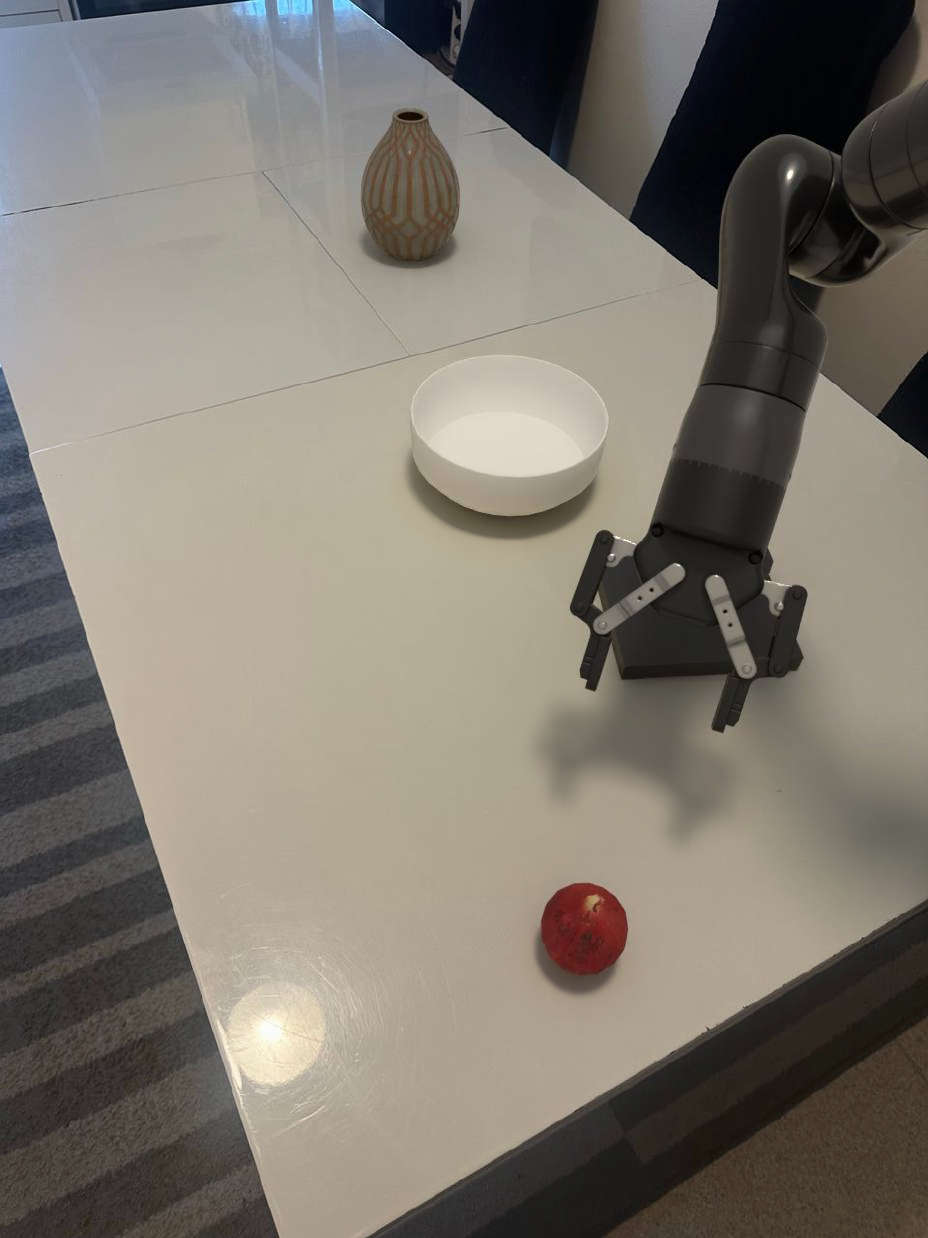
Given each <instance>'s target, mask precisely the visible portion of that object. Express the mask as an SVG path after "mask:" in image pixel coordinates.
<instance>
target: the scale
mask: <svg viewBox="0 0 928 1238" xmlns="http://www.w3.org/2000/svg"><path fill="white" fill-rule="evenodd" d="M773 564H774V558H773V556H772V554H771V551H770V549H769V548H767V551H766V554H765V558H764V561H763V566H762V571H763V577H764V580H768V581H772V578H771V576H770V573H771V570H772V567H773ZM640 586H642V585H641V582H640V579H639V576H638V573H637V570H636V568H635V565H634V562H633V557H631V556H628V557H625V558H623V559H622V560H621V562H620V564H619V565H618V566H616V567H608V566H607V567H606V570H605V573H604V575H603V578H602V581H601V583H600V586H599V589H598V591H597V592H598V594H599V595H598V596H599V598H600V599H599V600H600V602H601V606H602V611H603V612H606V611H607V610H608V609H610V608H611V607H613V606H614V605H615V604H617V603H618V602H620V601H621V600H622V599H624V598H625V597H626V596H628V595H629V594H631V593H632V592H633V591H635V590H636V589H638V588H639V587H640ZM640 599H642V597H641V596H640ZM736 613H737V616H738V618H739V621H740V624H741V626H742V629H743V632H744V634H745V637H746V640H747V643H748V646H749V649H750V651H751V654H752V656H753V657H766V656H767V652H768V649H769V645H770V641H771V637H772V633H773V629H774V625H775V621H776V618H777V616H776V615H773V614H771V613H770V612H769V610H768V600H767V598H766V597H765V596H764V595H763V594H760V595H759V596H758V597H757V598H756V599H754V600H753V601H752V602H750V603H749V604H747V605H746V606H745V607H743V608H742V609H741V610H739V611H738V612H736ZM610 636H612V637H613V638H612V642H611V646H612V649H613V653H614V657H615V661H616V665H617V668H618V672H619V676H620V679H621V680H638V679H657V678H658V679H659V678H676V677H677V678H678V677H693V676H694V677H696V676H714V675H727V674H728V673H730V674H731V673H732V670H733V667H734V665H733V662H732V660H731V657H730V655H729V652H728V649H727V647H726V644H725V642H724V639H723V637H722V634H721V631H720V629H719V626H715V627H711V628H701V627H698V626H694V625H692V624H691V623H689V622H687V621H686V620H684V619H682V618H668V617H664V616H661V615H658V613H656V612H655V611H654V610H652V608H651V607H650V606H649V604H648V605H646V606H645V607H643V608H642V609H641V610H639V611H638V612H636V613H635V614H633V615H632V616H631V617H629V618H628V619H626V620H625V621H624V622H622V623H621V624H619V625H618V626H617V627H615V628H614V629H612V632H611V635H610ZM804 658H805V656H804V654H803V652H802V649H801V647H800V644H799V643H798V640H797V639H796V643H795V646H794V650H793V654H792V658H791V662H790V666H789V669H788V672H790V671H798V669H799V667H800V666H801V663H802V662H803V660H804Z"/></svg>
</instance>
